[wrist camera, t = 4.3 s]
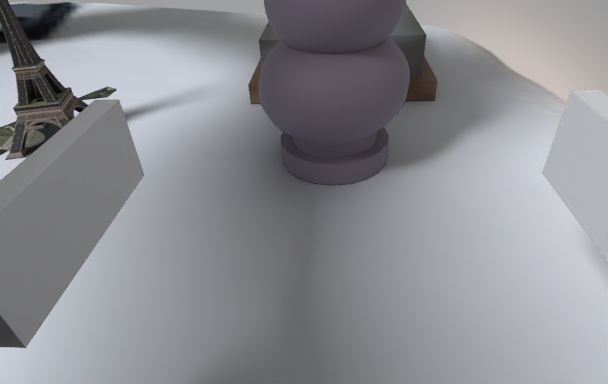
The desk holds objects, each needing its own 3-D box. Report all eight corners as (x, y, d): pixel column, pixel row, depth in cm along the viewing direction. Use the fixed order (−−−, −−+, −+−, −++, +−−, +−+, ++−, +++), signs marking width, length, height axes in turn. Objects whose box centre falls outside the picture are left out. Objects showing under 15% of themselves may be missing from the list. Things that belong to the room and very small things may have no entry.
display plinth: (251, 103, 32) (243, 44, 29) (273, 48, 43) (269, 2, 40) (434, 100, 31) (443, 38, 28) (407, 44, 42) (412, -3, 39)
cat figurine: (344, 217, 20) (348, -73, 13) (238, 165, 24) (198, -72, 17) (427, 146, 25) (461, -89, 18) (327, 115, 29) (323, -85, 22)
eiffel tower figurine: (111, 91, 37) (51, -87, 29) (187, 115, 32) (139, -92, 24) (-85, 168, 27) (-256, -68, 19) (-20, 219, 22) (-213, -70, 14)
